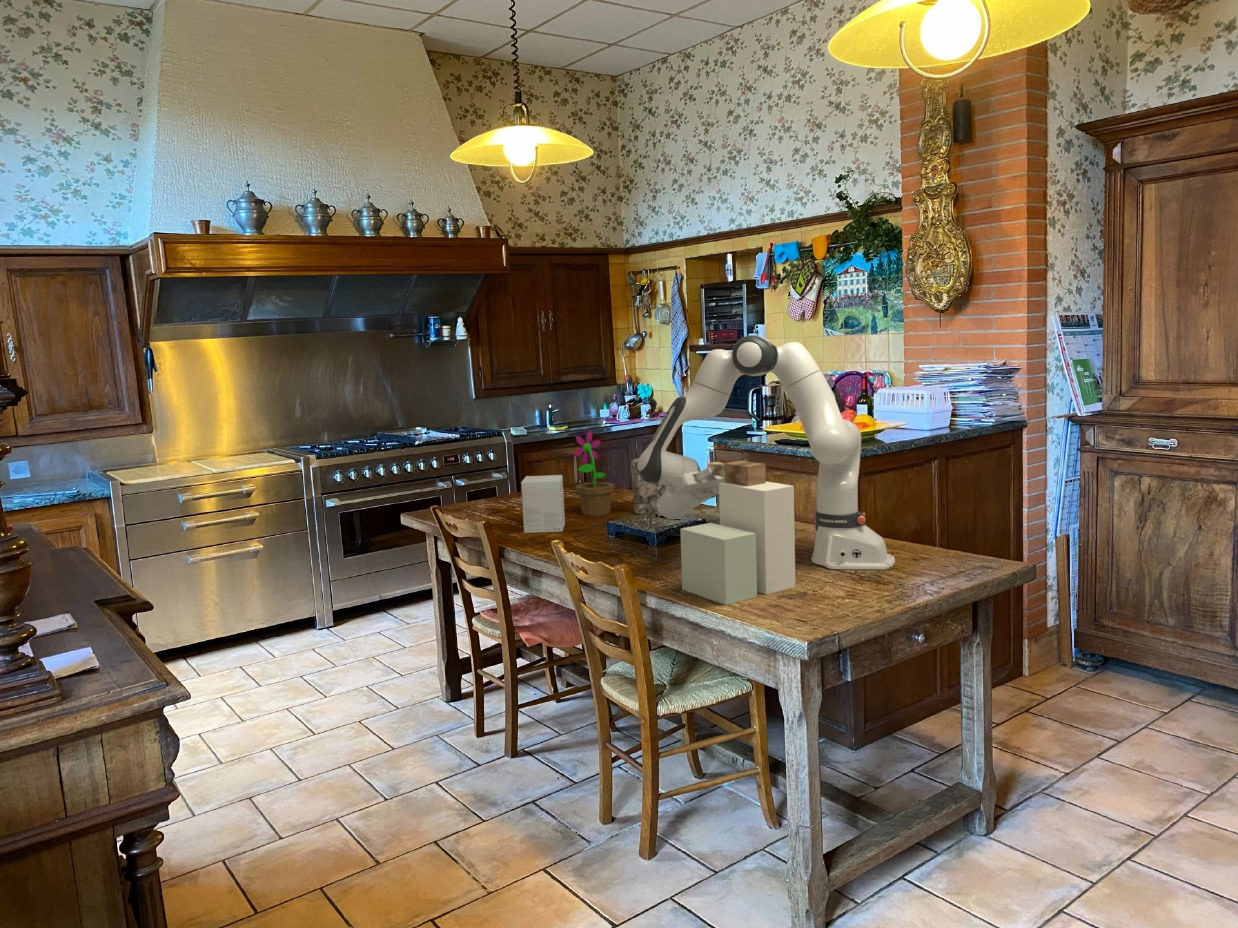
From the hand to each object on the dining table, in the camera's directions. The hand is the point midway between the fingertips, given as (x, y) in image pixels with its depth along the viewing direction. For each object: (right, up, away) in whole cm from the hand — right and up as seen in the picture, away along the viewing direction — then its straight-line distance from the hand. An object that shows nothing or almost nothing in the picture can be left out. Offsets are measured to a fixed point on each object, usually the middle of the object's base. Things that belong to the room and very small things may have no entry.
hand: (722, 468), depth 242 cm
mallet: (+2, -3, -3) cm, 5 cm away
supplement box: (-53, -21, +71) cm, 91 cm away
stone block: (-16, -17, +91) cm, 94 cm away
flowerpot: (-36, -17, +94) cm, 102 cm away
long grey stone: (0, -19, +75) cm, 77 cm away
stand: (+3, -31, -10) cm, 32 cm away
